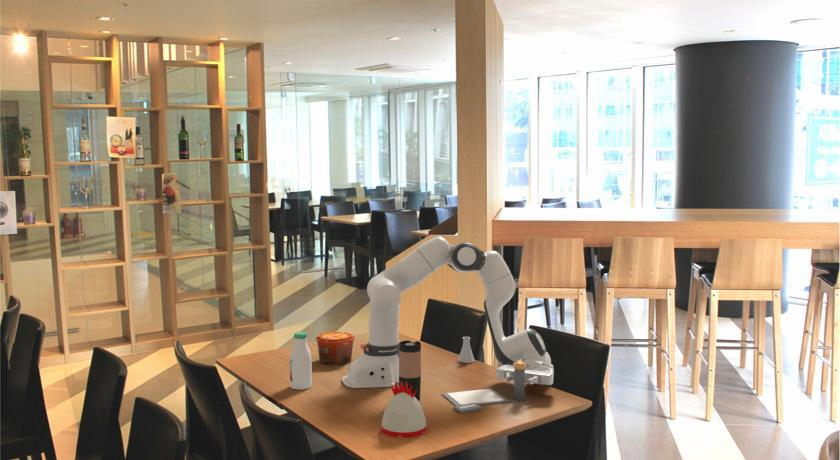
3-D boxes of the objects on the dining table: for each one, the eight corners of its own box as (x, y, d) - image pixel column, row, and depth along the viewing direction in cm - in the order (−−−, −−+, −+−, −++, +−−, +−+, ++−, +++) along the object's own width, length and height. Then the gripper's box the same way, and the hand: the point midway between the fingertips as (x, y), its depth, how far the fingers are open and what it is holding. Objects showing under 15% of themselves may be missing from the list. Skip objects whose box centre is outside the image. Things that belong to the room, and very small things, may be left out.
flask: (473, 364, 311) (474, 340, 310) (456, 363, 313) (456, 339, 312) (476, 359, 318) (476, 336, 317) (458, 358, 320) (459, 335, 319)
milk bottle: (315, 385, 281) (315, 332, 279) (304, 391, 274) (303, 336, 272) (298, 382, 284) (297, 329, 282) (286, 388, 277) (285, 334, 275)
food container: (334, 354, 326) (333, 329, 325) (362, 360, 316) (362, 334, 315) (307, 362, 313) (307, 336, 312) (336, 368, 303) (336, 342, 302)
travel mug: (404, 404, 260) (404, 346, 258) (394, 398, 267) (395, 341, 265) (424, 401, 264) (425, 344, 262) (414, 394, 270) (414, 339, 268)
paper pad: (457, 407, 257) (457, 405, 257) (441, 394, 271) (441, 392, 271) (509, 402, 263) (509, 400, 263) (490, 389, 277) (490, 387, 277)
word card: (461, 413, 251) (461, 410, 251) (453, 409, 255) (453, 405, 255) (481, 409, 255) (481, 406, 255) (473, 405, 259) (473, 402, 259)
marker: (516, 401, 263) (517, 364, 262) (511, 398, 267) (512, 362, 266) (526, 400, 265) (527, 363, 263) (521, 397, 268) (522, 361, 267)
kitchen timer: (390, 420, 245) (390, 374, 243) (431, 424, 241) (431, 378, 240) (375, 435, 232) (375, 386, 230) (418, 440, 228) (418, 390, 226)
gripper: (502, 358, 281) (490, 367, 268) (557, 365, 272) (547, 375, 260) (502, 375, 282) (489, 385, 269) (557, 382, 273) (546, 393, 261)
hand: (518, 380), depth 264 cm, fingers open, 6 cm apart
